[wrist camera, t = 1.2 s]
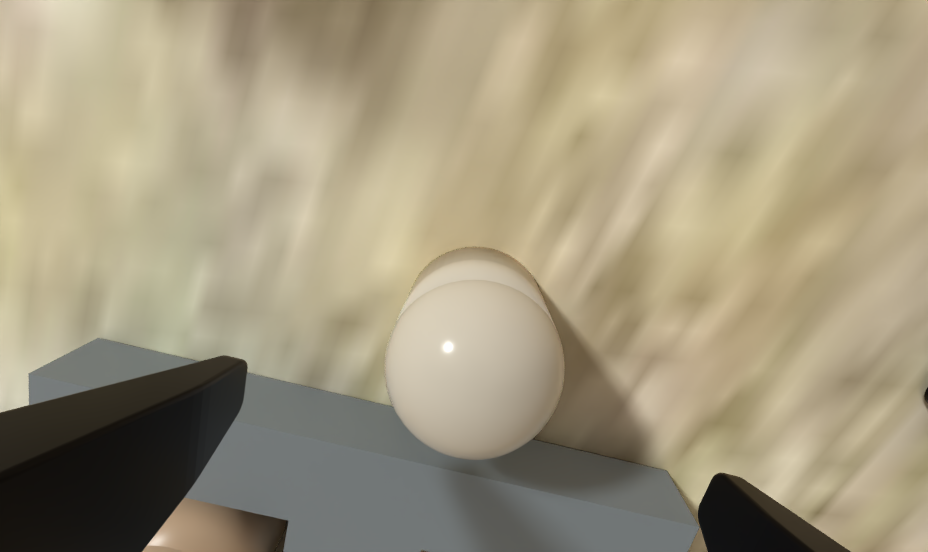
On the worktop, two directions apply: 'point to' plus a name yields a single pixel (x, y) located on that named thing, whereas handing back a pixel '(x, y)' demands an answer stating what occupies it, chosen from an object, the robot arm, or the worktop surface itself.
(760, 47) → the worktop surface
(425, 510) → the egg carton
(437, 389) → the egg
